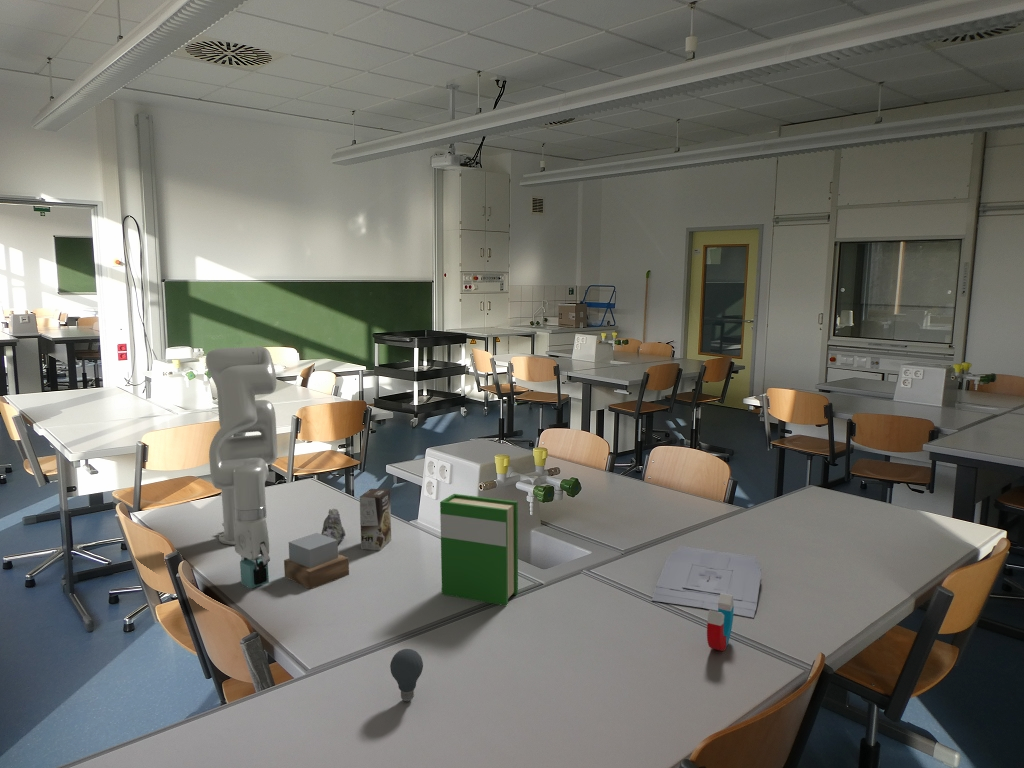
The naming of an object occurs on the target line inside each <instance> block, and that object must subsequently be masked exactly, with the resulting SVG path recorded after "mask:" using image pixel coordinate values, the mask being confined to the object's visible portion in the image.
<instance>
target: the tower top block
mask: <svg viewBox="0 0 1024 768" xmlns="http://www.w3.org/2000/svg"><path fill="white" fill-rule="evenodd" d="M338 554H339V543H338V540H336V539H333V538H330V537H328V536H325V535H322V534H321V533H318V532H315V533H312V534H309V535H305V536H303V537H299V538H297V539H294V540H291V541H288V559H289V560H290V561H293V562H295V563H298V564H300V565H303V566H306V567H308V568H313V567H315V566H318V565H321V564H323V563H326V562H328V561H331V560H334V559H336V558H338Z"/></svg>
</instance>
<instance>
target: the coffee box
mask: <svg viewBox="0 0 1024 768" xmlns="http://www.w3.org/2000/svg"><path fill="white" fill-rule="evenodd" d="M391 513H392V511H391V489H389V488H369V489H368V490H367V491H366V492H365V493H363V494H362V495H360V496H359V515H360V516H359V521H360V546H361V547H360V549H361V550H371V551H382V550H383V548H384V547H386V546H387V545H388V544H389V543H390V542H391V541H392V515H391Z"/></svg>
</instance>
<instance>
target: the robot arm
mask: <svg viewBox="0 0 1024 768" xmlns="http://www.w3.org/2000/svg"><path fill="white" fill-rule="evenodd" d="M205 362H206V367H207V371H208V372H209V374H210V377H211V379H212V381H213V383H214V384H215V388H216V392H217V393H216V395H217V409H218V421H219V427H220V428H219V429H218V430H217V432H216V433H215V435H214V436H213V438H212V440H211V443H210V446H209V449H208V450H209V454H208V457H209V458H208V460H209V473H210V479H211V483H212V486H213V487H214V488H215V489H218V490H220V491H221V504H222V520H223V521H222V523H221V525H222V527H223V532H222V533H221V534H220V535H218V536H219V537H218V540H219V542H220V543H222V544H224V545H230V546H231V545H232V546H233V545H234V551H235V553H236V554H238V555H240V557H241V558H240V561H243V560H246V559H249V560H253V561H254V566H255V570H253V571H254V584H255V585H258V584H261V583H263V582H266V581H267V576H266V567H267V564H268V565H269V562H270V561H271V557H270V556H269V555H270V540H269V539H270V538H269V530H268V525H267V519H266V518H267V517H268V516H267V501H266V500H267V499H266V485H265V484H266V480H267V479H268V478H269V470H270V469H269V465H273V464H274V463H275V462H276V461H277V460H278V459H277V458H278V438H277V437H278V435H277V419H276V412H275V407H274V405H273V404H272V402H271V401H269V400H265V399H256V397H255V396H257V395H258V396H259V395H270V394H273V393H274V392H275V391H276V388H277V373H276V369H275V365H274V362H273V358H272V355H271V352H270V351H269V349H268V348H266V347H263V346H262V347H261V346H251V347H250V346H248V347H223V348H221V347H220V348H214V349H212V350H209V351H208V352H207V353H206V355H205ZM255 432H256V433H257V432H259V433H260V434H256V435H255V434H254V435H253V434H252V435H241V436H240V435H239V436H234V435H236V434H243V433H245V434H246V433H255ZM259 555H260V556H259ZM258 556H259V557H258ZM259 559H262V561H260V562H259V563H258V560H259Z"/></svg>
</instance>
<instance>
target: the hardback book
mask: <svg viewBox="0 0 1024 768" xmlns="http://www.w3.org/2000/svg"><path fill="white" fill-rule="evenodd" d="M518 505H519V503H518V501H517V500H509V499H501V498H500V499H499V498H491V497H485V496H483V497H482V496H474V495H469V494H468V495H467V494H459V493H453V494H451V495H449V496H447V497H446V498H444V499H443V500H441V501H440V503H439V506H440V507H439V508H440V509H439V513H440V516H439V517H440V519H439V520H440V558H441V560H440V561H441V563H440V564H441V565H440V566H441V567H440V569H441V595H444V596H451V597H456V598H460V599H461V598H462V599H466V600H472V601H477V602H483V603H489V604H494V605H498V604H501V605H500V606H504V605H507V604H508V605H509V599H510V597H511V596H512V595H513V596H517V595H518V594H519V558H518V557H519V537H518V536H519V532H518V531H519V529H518V528H519V522H518V521H519V518H518V517H519V513H518V512H519V508H518V507H519V506H518ZM508 605H507V606H508Z"/></svg>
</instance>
